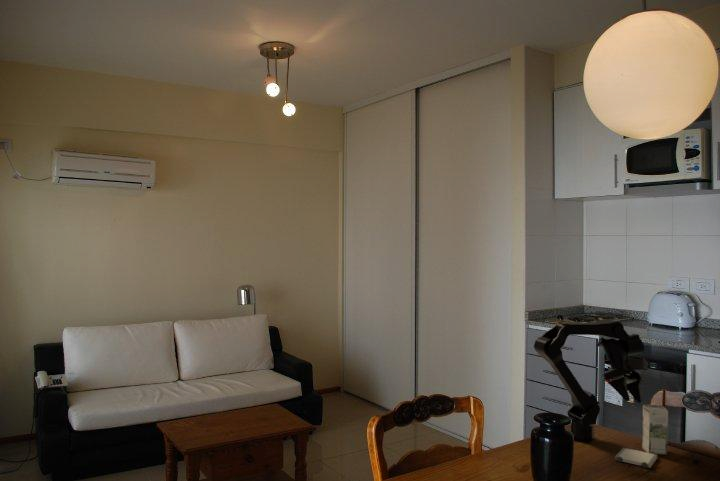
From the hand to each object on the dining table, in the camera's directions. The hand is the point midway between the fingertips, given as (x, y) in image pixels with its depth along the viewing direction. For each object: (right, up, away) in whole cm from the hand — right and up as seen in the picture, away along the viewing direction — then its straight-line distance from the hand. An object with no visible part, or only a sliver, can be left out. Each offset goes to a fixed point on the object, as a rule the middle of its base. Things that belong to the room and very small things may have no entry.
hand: (634, 401), depth 192 cm
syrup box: (+5, -15, -4) cm, 16 cm away
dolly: (-5, -15, -11) cm, 19 cm away
